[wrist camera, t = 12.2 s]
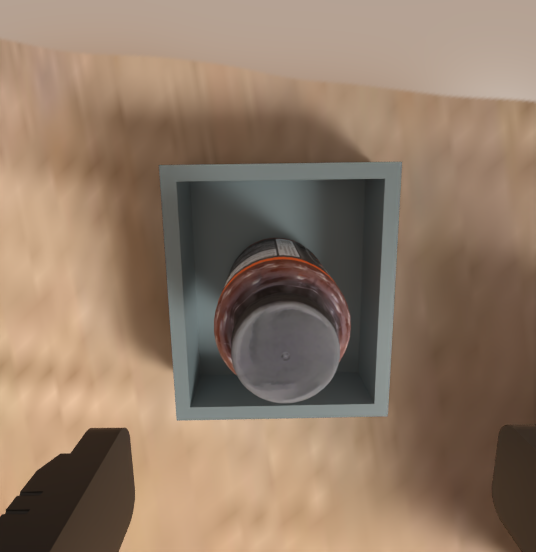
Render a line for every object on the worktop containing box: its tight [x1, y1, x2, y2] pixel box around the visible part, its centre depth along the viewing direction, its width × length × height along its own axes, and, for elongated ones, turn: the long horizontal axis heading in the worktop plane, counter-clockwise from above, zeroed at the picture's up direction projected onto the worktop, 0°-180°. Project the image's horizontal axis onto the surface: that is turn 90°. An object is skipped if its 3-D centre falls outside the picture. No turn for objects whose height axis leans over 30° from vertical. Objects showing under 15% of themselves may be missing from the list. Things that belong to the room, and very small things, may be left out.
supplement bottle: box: [214, 238, 351, 403], centre depth 20 cm, size 6×6×11 cm
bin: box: [159, 162, 402, 420], centre depth 24 cm, size 12×14×5 cm
